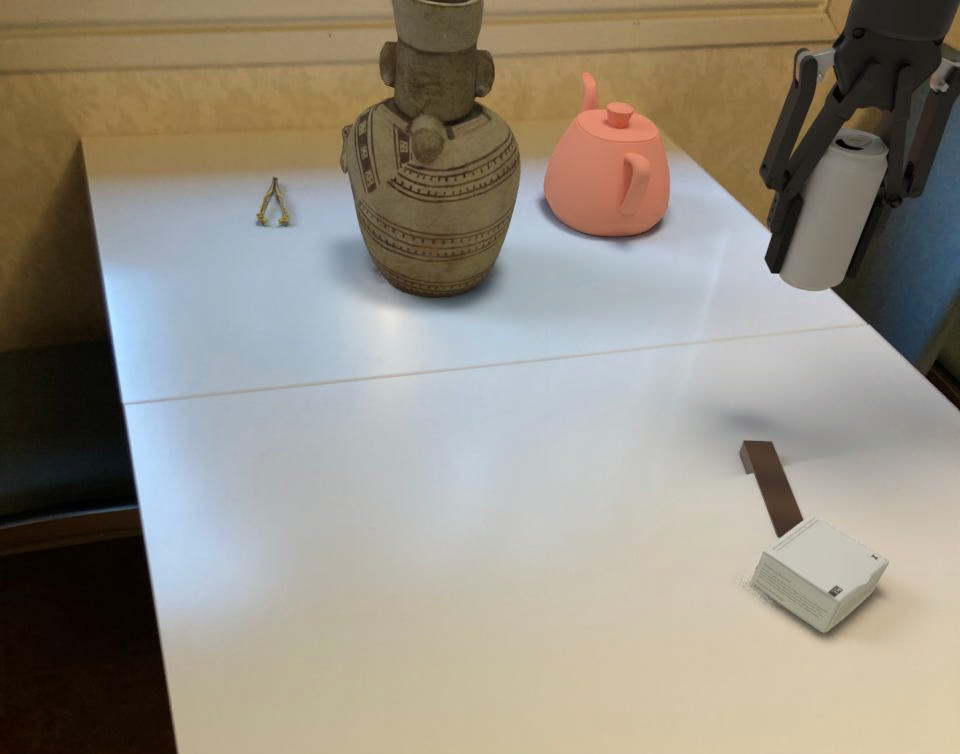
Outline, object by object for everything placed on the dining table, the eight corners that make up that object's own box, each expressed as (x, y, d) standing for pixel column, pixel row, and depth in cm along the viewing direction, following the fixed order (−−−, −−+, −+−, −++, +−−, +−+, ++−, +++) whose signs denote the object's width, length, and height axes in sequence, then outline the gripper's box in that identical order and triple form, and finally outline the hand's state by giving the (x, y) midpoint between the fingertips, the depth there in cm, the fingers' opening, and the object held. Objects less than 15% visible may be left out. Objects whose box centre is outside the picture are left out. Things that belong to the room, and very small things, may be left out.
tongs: (284, 182, 126) (283, 167, 125) (291, 231, 118) (290, 216, 117) (253, 182, 125) (251, 167, 124) (257, 232, 118) (256, 216, 116)
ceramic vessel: (397, 216, 122) (399, -63, 99) (537, 267, 116) (573, -19, 93) (307, 272, 111) (286, -28, 88) (456, 332, 105) (475, 25, 82)
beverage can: (757, 272, 86) (801, 134, 77) (797, 254, 89) (844, 119, 80) (814, 302, 83) (867, 162, 74) (854, 282, 86) (909, 145, 77)
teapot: (518, 171, 134) (528, 67, 124) (626, 169, 138) (645, 67, 127) (569, 255, 118) (586, 144, 108) (690, 250, 122) (717, 142, 112)
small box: (794, 553, 84) (814, 510, 81) (868, 602, 81) (893, 560, 77) (743, 591, 81) (761, 549, 77) (819, 645, 77) (841, 603, 73)
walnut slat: (804, 548, 85) (810, 536, 84) (773, 547, 85) (778, 535, 84) (767, 452, 94) (772, 440, 93) (739, 451, 94) (743, 439, 93)
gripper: (1023, -38, 71) (897, 254, 88) (776, -59, 69) (698, 242, 87) (1067, -8, 66) (925, 295, 83) (802, -31, 64) (714, 283, 82)
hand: (809, 268), depth 85 cm, fingers closed on beverage can, 6 cm apart
